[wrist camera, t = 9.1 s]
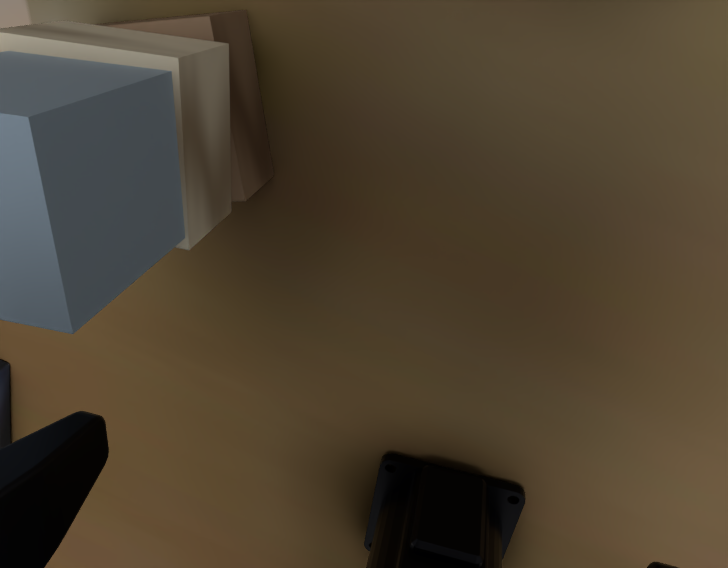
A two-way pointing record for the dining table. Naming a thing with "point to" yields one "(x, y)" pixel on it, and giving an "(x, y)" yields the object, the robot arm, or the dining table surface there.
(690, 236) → the dining table surface
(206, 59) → the tower mid
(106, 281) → the blue cube
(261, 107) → the tower base
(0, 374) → the small box
